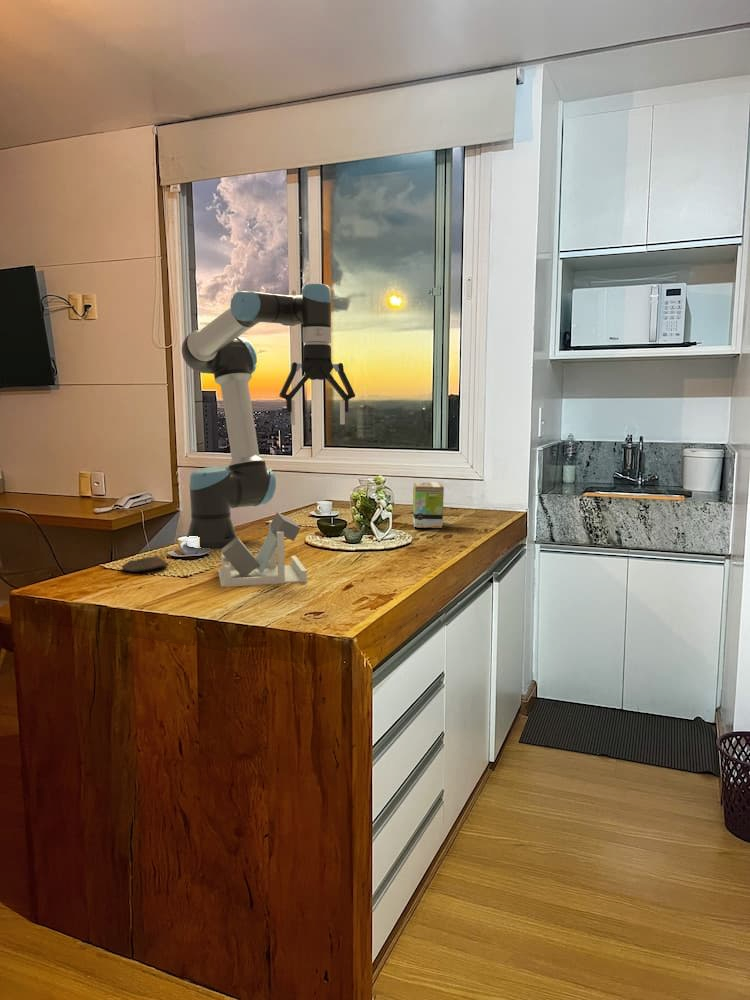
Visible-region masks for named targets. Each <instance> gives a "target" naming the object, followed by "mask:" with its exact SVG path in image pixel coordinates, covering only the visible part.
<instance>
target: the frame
mask: <svg viewBox="0 0 750 1000" xmlns="http://www.w3.org/2000/svg"><path fill="white" fill-rule="evenodd" d="M272 521H273V520H268V532H269V531H270V529H271V530H273V531H274V532H275V534H276V535H277V547H276V549H275V551H274V553H273V554H272V556H271V558H270V560H269V562H268V564H267V566H266V568H265V570H264V572H263V574H262V573H260V572H259V570H258V568H255V569H254V570H253V571H252V572H251V573H249V574H248V575H247V576H246V577H242V576H241V575H240V574H239V573H238V571H237V570H236V569H235V568H234V567H233V566H232V564H231V563H230V562H229V561H228V560H227V559H226V557H225V556H224V555H223V554H222V551H221V552H220V553H221V555H220V556H221V559H220V560H221V568H220V569H217V573H218V579H219V582H220V587H222V588H229V587H241V586H259V585H260V586H261V585H273V584H276V585H277V584H287V583H301V582H302V583H306V582H308V581H307V580H308V576H307V573H308V572H307V571H308V570H307V569H306V567H304V565H303V564H302V562H301V561H300V559H299V558H298V557H297V556H296V555H291V556H290V565H285V537H284V532H283V531H280V532H276V531H275V530H274V528H273V527H272V525H271V522H272Z"/></svg>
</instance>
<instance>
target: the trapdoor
mask: <svg viewBox="0 0 750 1000" xmlns="http://www.w3.org/2000/svg"><path fill="white" fill-rule="evenodd" d="M271 521H272V522H271V525H272V527H273V528H274V530H275V531H276V532H280V531H283V532H284V538H286V539H289V540H291V541H292V542H295V540H296V538H297V536H298V533H299V532H300V530H301V527H300V526H299V525H298V524H297V522H295V521H294V519H292V518H290V517H288V516H285V515H284V514H282V513H280V512H278V511H277V512H276V513H275V515H274V517H273V519H272V520H271ZM275 549H276V550H277V535H276V534H275V532H274V531H273V530H271V529H270V531H269V530H268V533H267V536H266V538H265V539H264V542H263V543H262V545H261V547H260V548H259V551H258V552H257V555H256V556H255V558H256V559H257V561H258V562H259V566H258V567H257V568H258V570H259V572H260V573H262V574H263V572H264V570H265V568H266V566H267V564H268V562H269V561H270V558H271V556H272V554H273V553H274V551H275Z"/></svg>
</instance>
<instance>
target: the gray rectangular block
mask: <svg viewBox="0 0 750 1000" xmlns="http://www.w3.org/2000/svg"><path fill="white" fill-rule="evenodd" d="M220 550H221V552H222V554H223V555H224V556H225V557H226V559H227V560H228V561H229V563H231V564H232V566H233V567H234V568H235V569H236V570H237V571H238V573H239V574H240V575H241V576H242V577H246V576H247V575H248V574H249V573H251V572H252V571H253V570H254V569H255V568H257V567H258V566H259V562H258V561H257V559H256V556H254V554H252V552H251V551H250V550H249V549H248V547H247V546H246V545H245V543H243V541H242V540H241V539H240V538H239V537H238V536H237V537H236V538H235V539H233V540H232V541H231V542H230V543H229V544H227V545H226V546H225V547H224V548H220Z"/></svg>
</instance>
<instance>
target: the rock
mask: <svg viewBox="0 0 750 1000" xmlns="http://www.w3.org/2000/svg"><path fill="white" fill-rule="evenodd" d="M168 566H169V563H168V562H166V561H165V560H164V558H162V557H159V556H157V555H156V556H151V557H150V556H148V557H142V558H139V559H135V560H134V559H133V560H130V561H127V562H126V563H125V564H123V565H121V568H122V569H123V570H125V571H128V572H141V571H150V570H154V569H159V568H162V569H163V568H167V567H168Z"/></svg>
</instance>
